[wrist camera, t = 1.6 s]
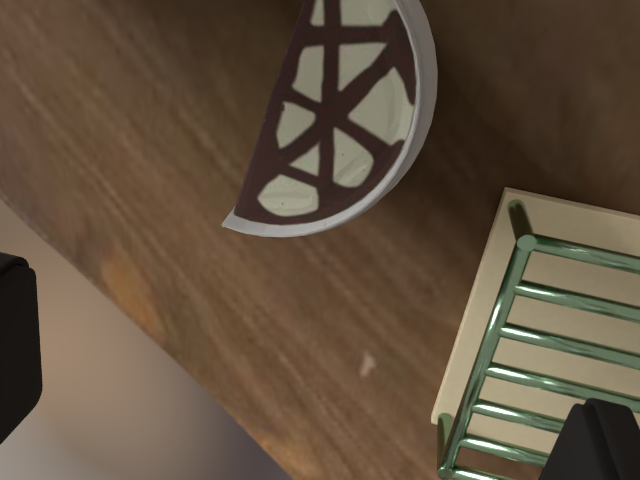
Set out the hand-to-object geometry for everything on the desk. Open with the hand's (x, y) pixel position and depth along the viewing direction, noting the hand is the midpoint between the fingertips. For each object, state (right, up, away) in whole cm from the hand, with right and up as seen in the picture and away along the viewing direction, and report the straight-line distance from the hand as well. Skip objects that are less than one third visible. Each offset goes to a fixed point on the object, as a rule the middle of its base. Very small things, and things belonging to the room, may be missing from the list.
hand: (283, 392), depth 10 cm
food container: (+3, +11, +20) cm, 23 cm away
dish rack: (+16, -3, +24) cm, 29 cm away
